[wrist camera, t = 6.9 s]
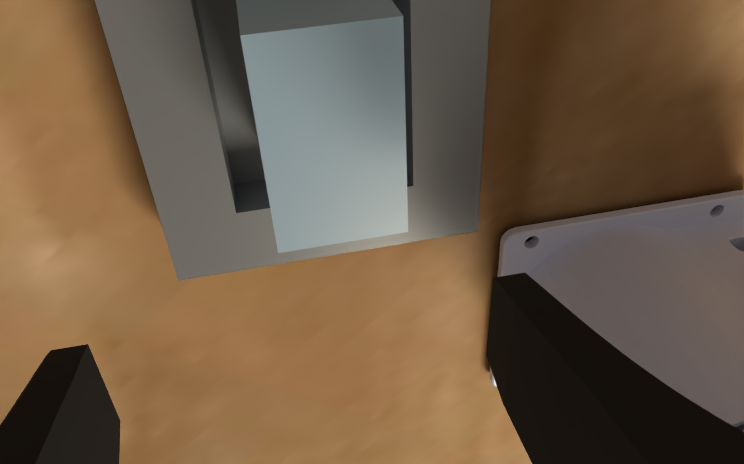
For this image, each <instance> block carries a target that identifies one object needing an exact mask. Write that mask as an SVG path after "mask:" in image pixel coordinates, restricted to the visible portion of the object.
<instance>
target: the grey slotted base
mask: <svg viewBox="0 0 744 464" xmlns="http://www.w3.org/2000/svg"><path fill="white" fill-rule="evenodd" d="M392 1H393V2H394V4H395V5H396V7H397V8H398V9H399V11H400V12H401V14H402V15H403V28H404V71H405V114H406V157H407V200H408V232H405V233H399V234H393V235H387V236H380V237H374V238H368V239H362V240H356V241H350V242H344V243H338V244H331V245H325V246H319V247H313V248H307V249H301V250H295V251H289V252H282V253H278V250H277V244H276V238H275V232H274V227H273V221H272V215H271V209H270V204H269V198H268V192H267V186H266V181H265V175H264V169H263V164H262V158H261V152H260V146H259V141H258V135H257V129H256V123H255V118H254V112H253V106H252V100H251V95H250V89H249V83H248V78H247V72H246V66H245V60H244V55H243V49H242V43H241V37H240V30H239V21H238V13H237V4H236V0H95V4H96V7H97V10H98V14H99V17H100V20H101V24H102V27H103V30H104V34H105V37H106V40H107V44H108V47H109V50H110V54H111V57H112V61H113V64H114V67H115V71H116V74H117V77H118V81H119V84H120V87H121V91H122V94H123V97H124V101H125V104H126V107H127V111H128V114H129V117H130V121H131V124H132V127H133V131H134V134H135V137H136V141H137V144H138V147H139V151H140V154H141V157H142V161H143V164H144V167H145V171H146V174H147V177H148V181H149V184H150V187H151V191H152V194H153V197H154V201H155V204H156V207H157V211H158V214H159V217H160V221H161V224H162V228H163V231H164V234H165V238H166V241H167V244H168V248H169V251H170V254H171V258H172V261H173V264H174V268H175V271H176V274H177V278H178V281H179V280H185V279H191V278H197V277H203V276H210V275H216V274H222V273H228V272H234V271H240V270H246V269H252V268H258V267H264V266H270V265H276V264H282V263H288V262H294V261H300V260H306V259H312V258H318V257H324V256H330V255H337V254H343V253H349V252H355V251H361V250H367V249H373V248H379V247H385V246H391V245H397V244H403V243H409V242H415V241H421V240H427V239H433V238H439V237H445V236H451V235H458V234H464V233H470V232H476V231H478V221H479V203H480V185H481V167H482V149H483V131H484V113H485V96H486V78H487V60H488V42H489V24H490V6H491V0H392Z"/></svg>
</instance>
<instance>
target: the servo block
mask: <svg viewBox="0 0 744 464" xmlns="http://www.w3.org/2000/svg"><path fill="white" fill-rule="evenodd" d="M236 4H237V13H238V21H239V30H240V37H241V43H242V49H243V55H244V60H245V66H246V72H247V78H248V83H249V89H250V95H251V100H252V106H253V112H254V118H255V123H256V129H257V135H258V141H259V146H260V152H261V158H262V164H263V169H264V175H265V181H266V186H267V192H268V198H269V204H270V209H271V215H272V221H273V227H274V232H275V238H276V244H277V250H278V253H282V252H289V251H295V250H301V249H307V248H313V247H319V246H325V245H331V244H338V243H344V242H350V241H356V240H362V239H368V238H374V237H380V236H387V235H393V234H399V233H405V232H408V200H407V157H406V114H405V71H404V28H403V15H402V14H401V12H400V11H399V9H398V8H397V7H396V5H395V4H394V2H393V1H392V0H236Z"/></svg>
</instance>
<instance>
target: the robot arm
mask: <svg viewBox="0 0 744 464" xmlns="http://www.w3.org/2000/svg"><path fill="white" fill-rule="evenodd" d="M715 206H716V207H715ZM714 207H715V208H714ZM532 236H534V237H533V238H532V239H531V240H530V241H527V242H525V241H526V240H527V239H528V238H529V237H532ZM486 355H487V358H488V361H489V364H490V375H489V376H490V380H491V382H492V384H493V385H494V386H495V387H497V388H498V390H499V393H500V396H501V399H502V402H503V404H504V406H505V408H506V410H507V413H508V415H509V417H510V419H511V421H512V423H513V425H514V427H515V429H516V431H517V433H518V435H519V437H520V439H521V441H522V443H523V446H524V448H525V450H526V452H527V454H528V456H529V458H530V460H531V462H532V464H744V190H737V191H731V192H725V193H719V194H713V195H707V196H701V197H695V198H689V199H683V200H677V201H671V202H665V203H659V204H653V205H647V206H641V207H635V208H629V209H622V210H616V211H610V212H604V213H598V214H592V215H586V216H580V217H574V218H568V219H562V220H556V221H550V222H544V223H538V224H532V225H526V226H520V227H515V228H512V229H509V230H508V231H506V232H505V233H504V235H503V236H502V238H501V241H500V253H499V266H498V277H495V278H494V279H493V290H492V300H491V311H490V322H489V332H488V343H487V354H486ZM119 450H120V419H119V417H118V415H117V412H116V410H115V407H114V405H113V403H112V400H111V398H110V396H109V393H108V391H107V388H106V386H105V384H104V381H103V379H102V377H101V374H100V372H99V369H98V367H97V365H96V362H95V360H94V357H93V355H92V353H91V350H90V348H89V346H88V344H87V345H81V346H75V347H69V348H63V349H57V350H51V351H50V352H49V353H48V354H47V356H46V357H45V358H44V360H43V361H42V363H41V364H40V366H39V367H38V369H37V370H36V372H35V374H34V375H33V377H32V378H31V380H30V381H29V383H28V384H27V386H26V387H25V389H24V390H23V392H22V393H21V395H20V396H19V398H18V399H17V401H16V403H15V404H14V405H13V407H12V408H11V410H10V411H9V413H8V414H7V416H6V417H5V419H4V420H3V422H2V423H1V425H0V464H119Z"/></svg>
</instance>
